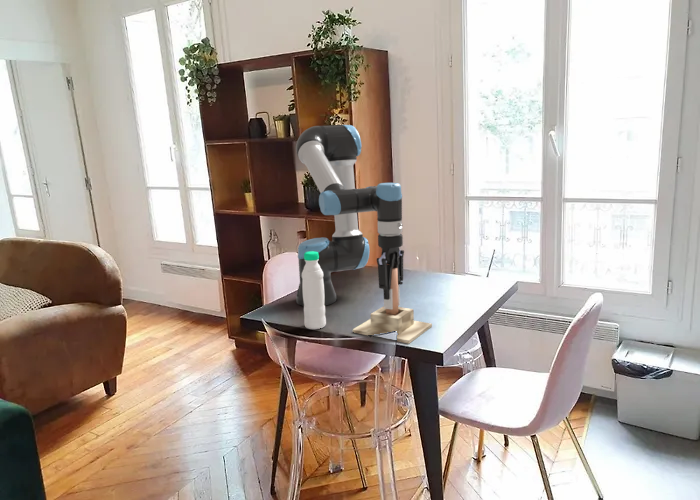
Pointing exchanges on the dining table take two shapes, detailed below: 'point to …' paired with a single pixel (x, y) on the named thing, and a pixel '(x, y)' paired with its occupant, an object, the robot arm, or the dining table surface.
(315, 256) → the water bottle
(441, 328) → the dining table surface
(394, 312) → the dowel
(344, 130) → the robot arm
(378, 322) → the socket block
